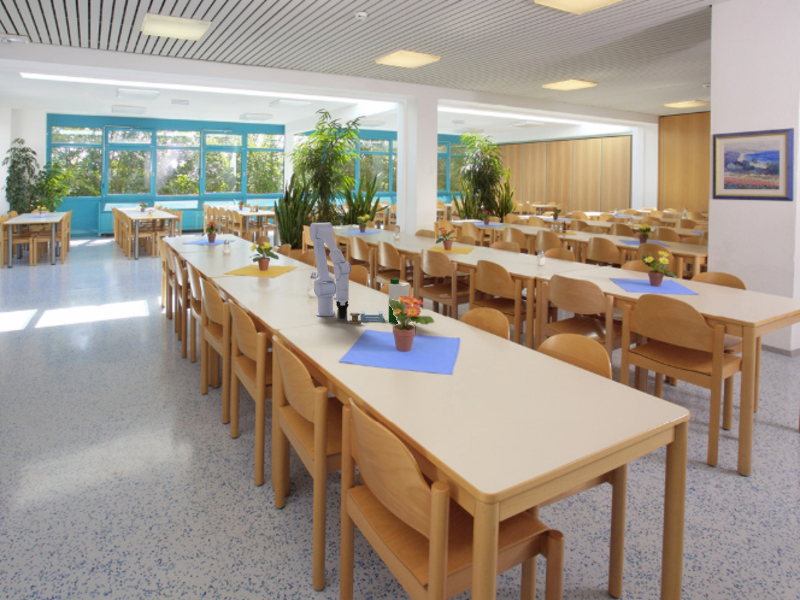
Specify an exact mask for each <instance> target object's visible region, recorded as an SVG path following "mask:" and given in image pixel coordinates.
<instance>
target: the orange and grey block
mask: <svg viewBox="0 0 800 600" xmlns="http://www.w3.org/2000/svg"><path fill="white" fill-rule="evenodd" d="M336 316H337V318H336V319H337V320H336V322H344V323H345V322H348V309H347V310H346V316H345V319H340V316H339V310H338V309H337V311H336Z"/></svg>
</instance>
